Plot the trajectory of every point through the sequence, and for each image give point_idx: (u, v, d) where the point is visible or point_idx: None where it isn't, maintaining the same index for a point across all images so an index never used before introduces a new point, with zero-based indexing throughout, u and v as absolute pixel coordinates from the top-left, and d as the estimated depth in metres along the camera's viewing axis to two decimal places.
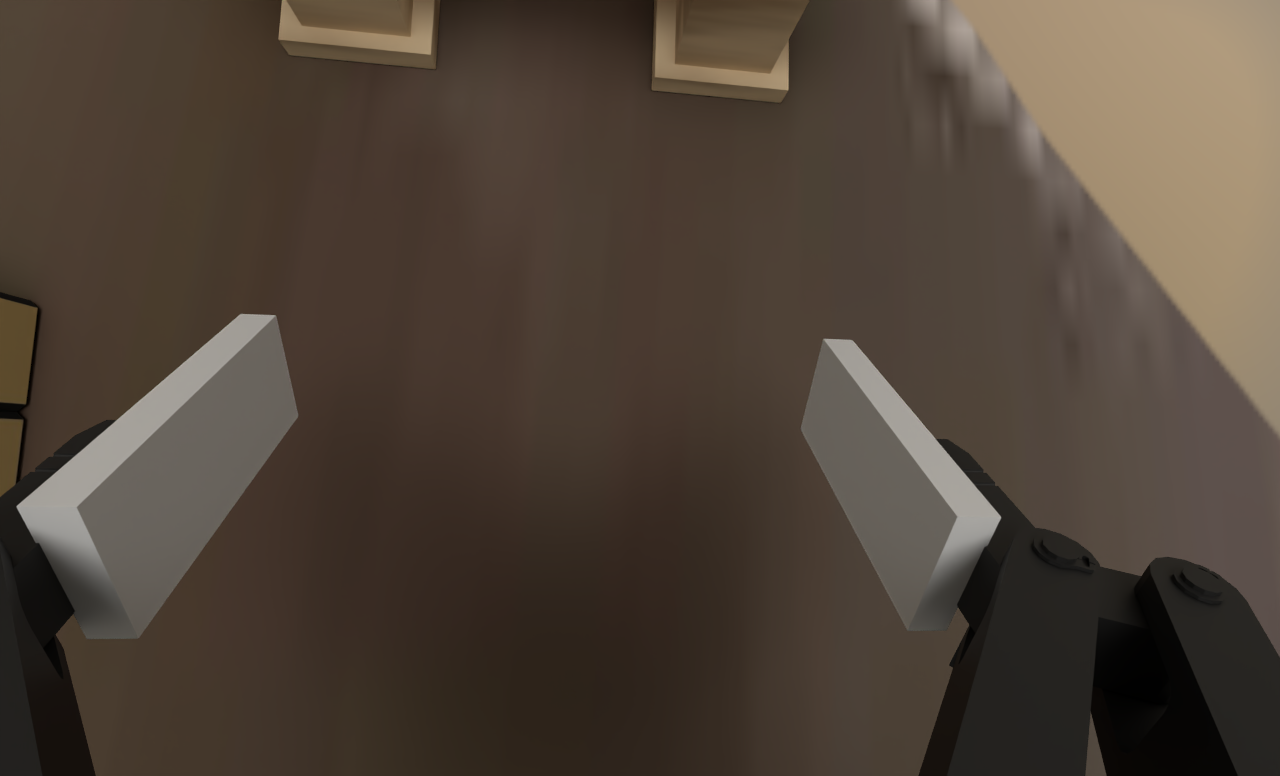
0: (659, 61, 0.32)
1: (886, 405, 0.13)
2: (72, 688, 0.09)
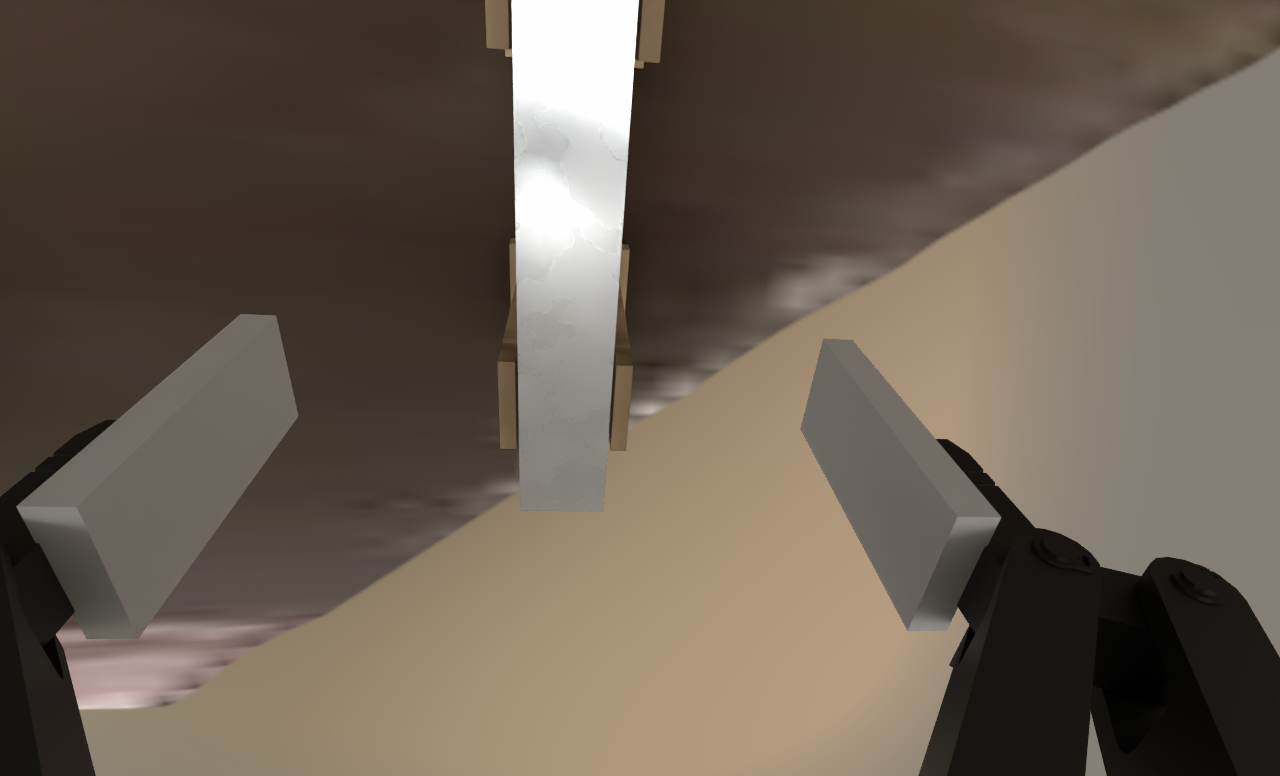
0: None
1: (886, 405, 0.13)
2: (72, 688, 0.09)
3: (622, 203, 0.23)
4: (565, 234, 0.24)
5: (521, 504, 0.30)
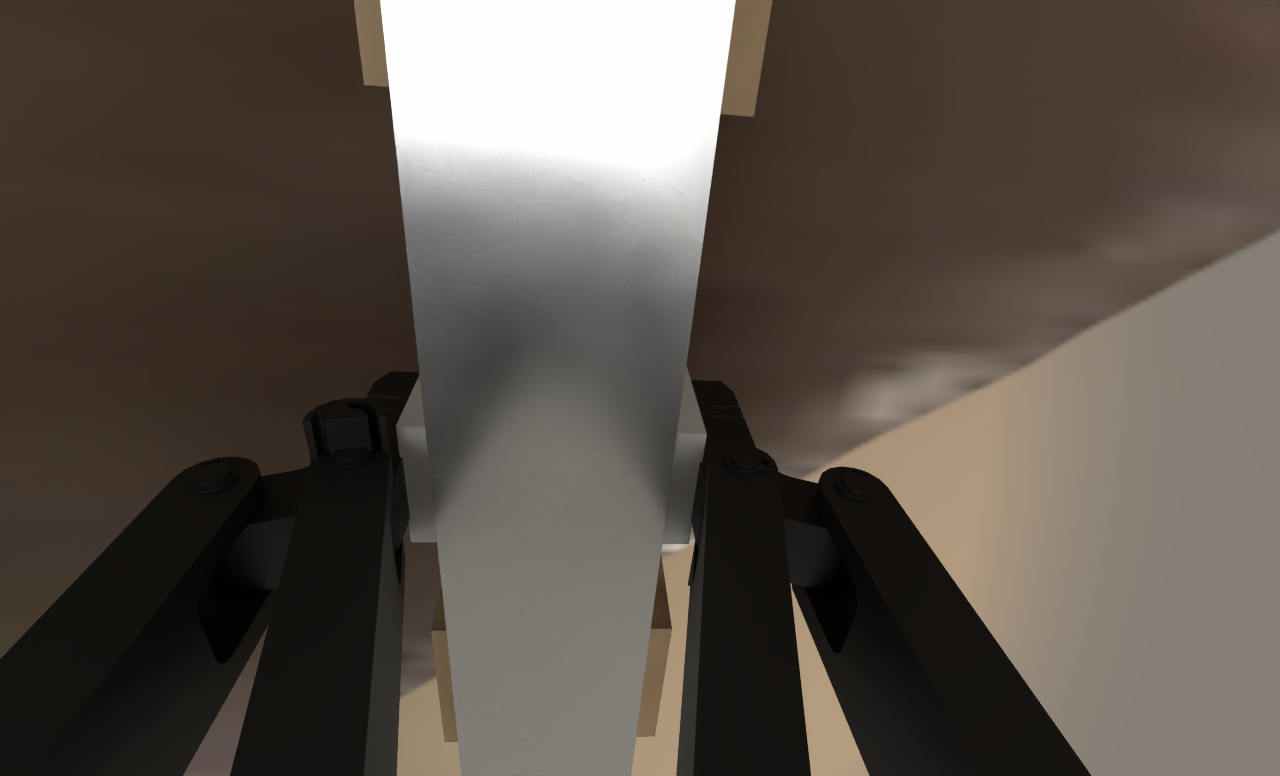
0: None
1: None
2: (403, 594, 0.11)
3: (672, 436, 0.10)
4: (544, 495, 0.11)
5: None
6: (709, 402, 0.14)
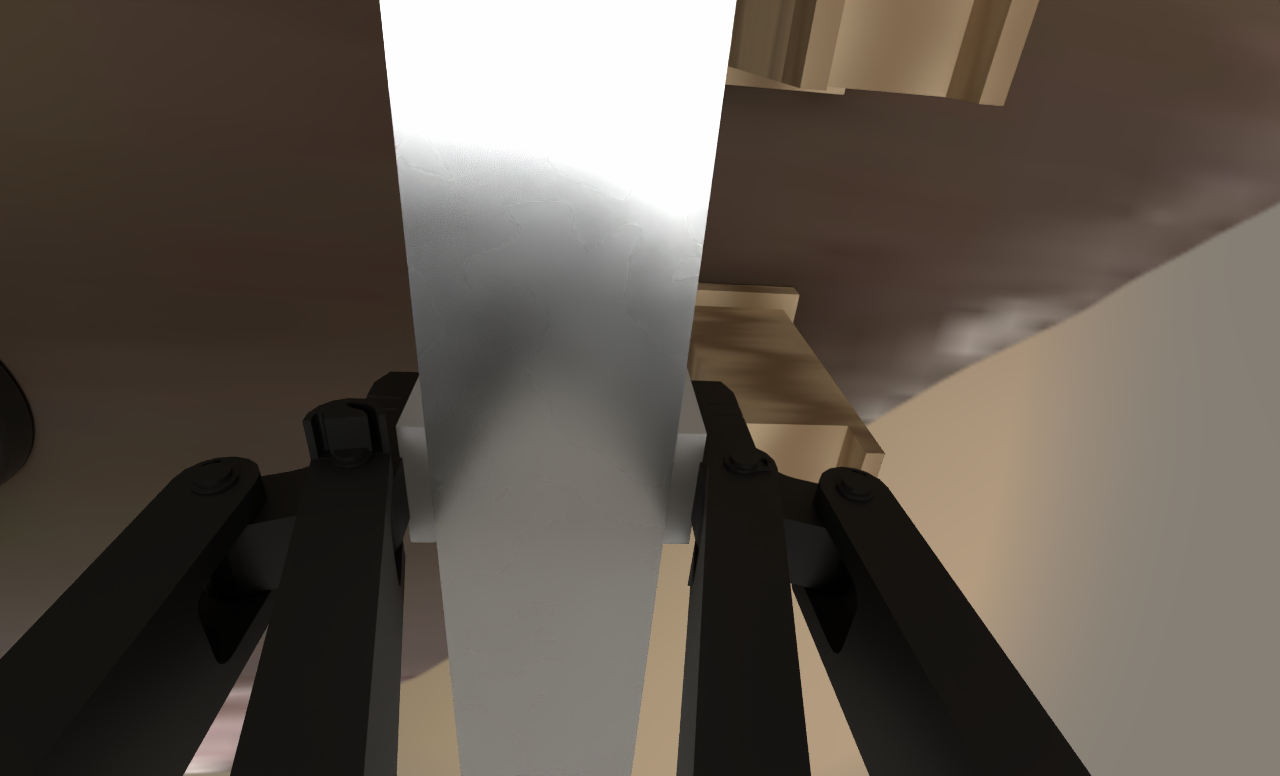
0: None
1: None
2: (403, 594, 0.11)
3: (672, 437, 0.10)
4: (543, 497, 0.11)
5: None
6: (709, 402, 0.14)
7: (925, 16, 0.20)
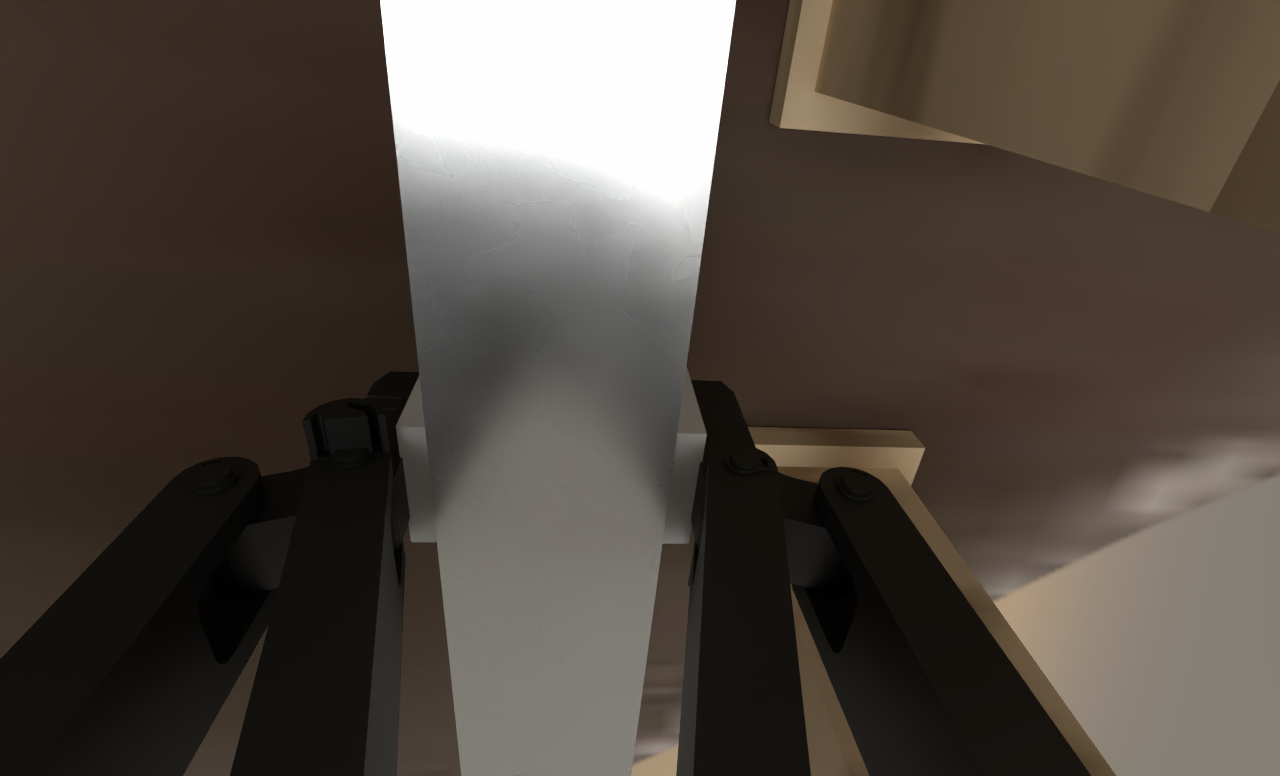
0: None
1: None
2: (403, 594, 0.11)
3: (672, 436, 0.10)
4: (544, 496, 0.11)
5: None
6: (709, 402, 0.14)
7: None
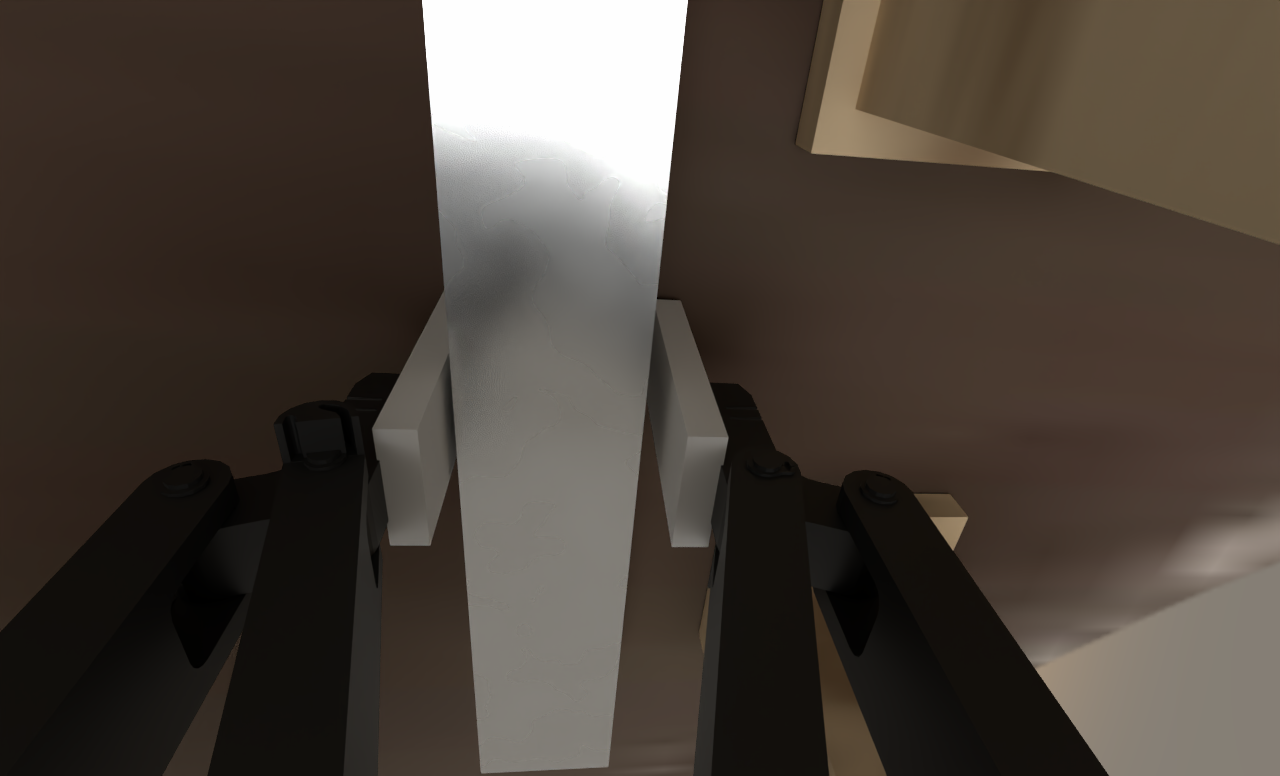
0: None
1: (679, 352, 0.14)
2: (381, 596, 0.11)
3: (647, 354, 0.13)
4: (544, 406, 0.13)
5: (482, 765, 0.20)
6: (727, 405, 0.14)
7: None
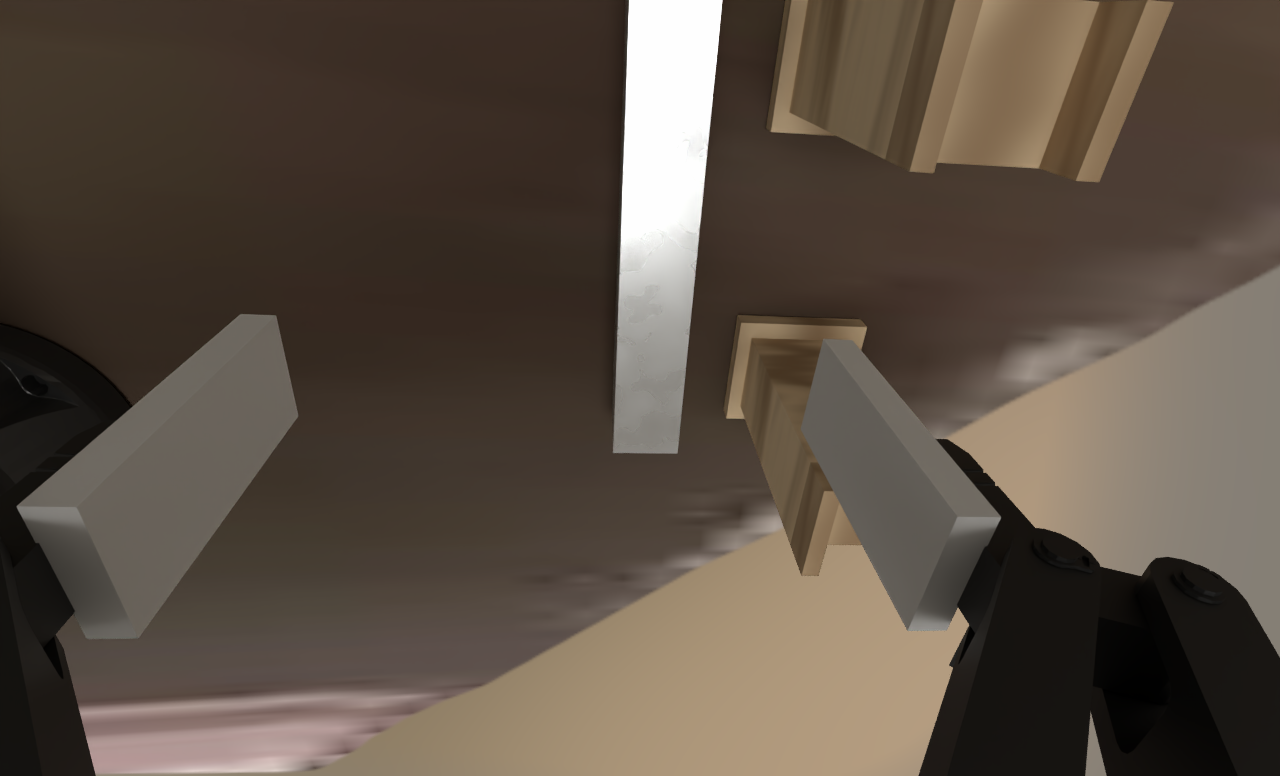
0: (754, 326, 0.39)
1: (886, 405, 0.13)
2: (72, 688, 0.09)
3: (699, 213, 0.32)
4: (657, 237, 0.32)
5: (614, 447, 0.39)
6: None
7: (1023, 98, 0.21)
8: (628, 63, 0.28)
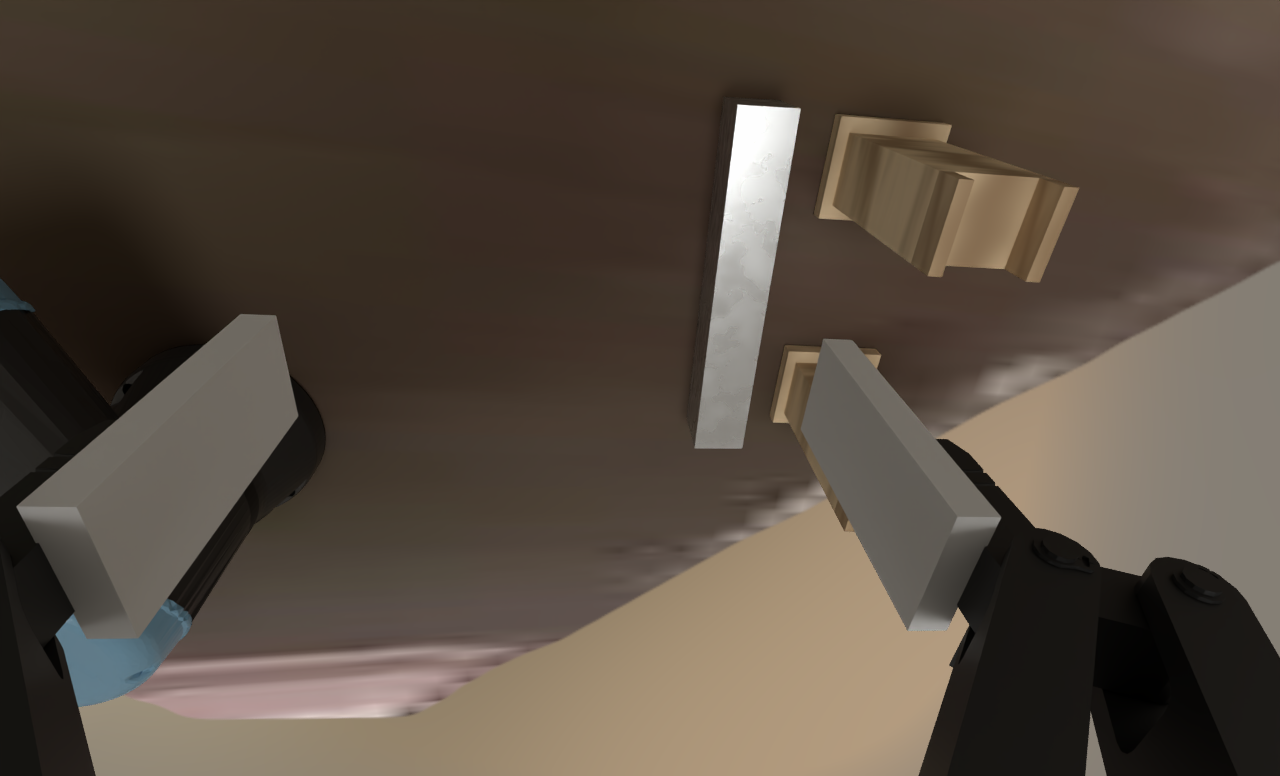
0: (798, 354, 0.52)
1: (886, 405, 0.13)
2: (72, 688, 0.09)
3: (770, 277, 0.45)
4: (739, 293, 0.45)
5: (695, 444, 0.52)
6: None
7: (994, 229, 0.34)
8: (729, 180, 0.41)
